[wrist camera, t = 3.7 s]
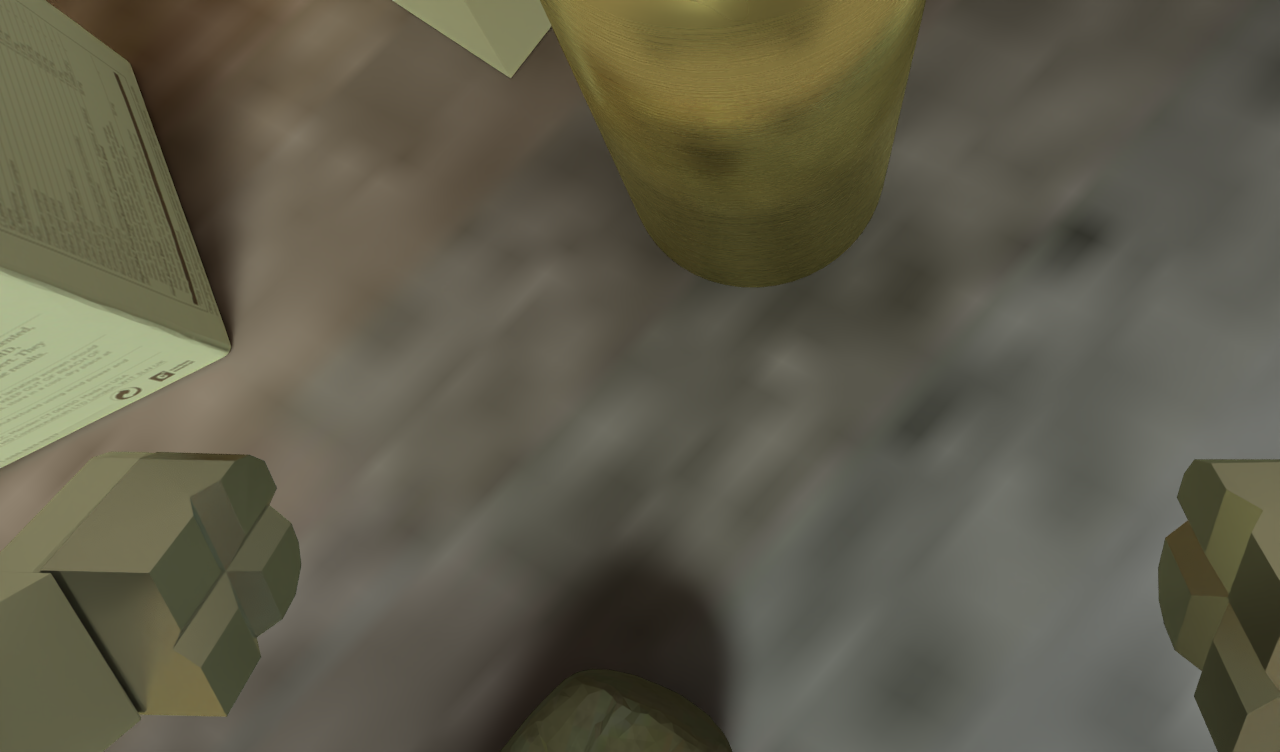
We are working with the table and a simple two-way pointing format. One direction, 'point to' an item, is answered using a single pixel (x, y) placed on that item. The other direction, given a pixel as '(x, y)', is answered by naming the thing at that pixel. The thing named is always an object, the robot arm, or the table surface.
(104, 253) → the supplement box
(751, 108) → the cylinder
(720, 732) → the decorative stone
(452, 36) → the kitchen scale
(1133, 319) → the table surface
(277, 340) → the table surface
